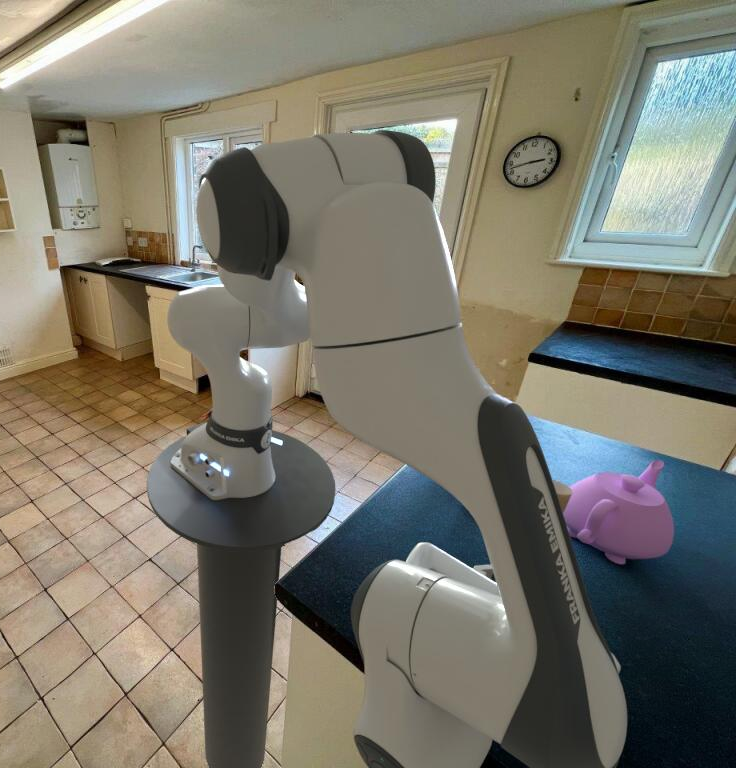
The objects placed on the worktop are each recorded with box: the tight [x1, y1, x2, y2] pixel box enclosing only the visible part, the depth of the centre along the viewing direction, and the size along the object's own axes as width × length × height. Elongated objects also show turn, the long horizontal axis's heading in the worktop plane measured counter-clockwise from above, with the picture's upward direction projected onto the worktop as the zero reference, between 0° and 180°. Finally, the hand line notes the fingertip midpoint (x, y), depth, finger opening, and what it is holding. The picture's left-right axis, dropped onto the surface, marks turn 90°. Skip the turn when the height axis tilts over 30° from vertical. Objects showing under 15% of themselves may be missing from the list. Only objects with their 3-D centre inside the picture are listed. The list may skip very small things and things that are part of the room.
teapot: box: [563, 459, 675, 565], centre depth 68 cm, size 20×14×12 cm
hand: (518, 577), depth 51 cm, fingers closed on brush, 3 cm apart
